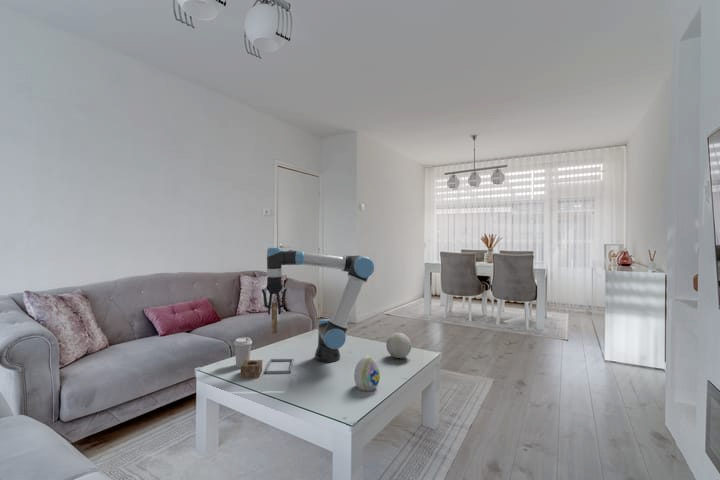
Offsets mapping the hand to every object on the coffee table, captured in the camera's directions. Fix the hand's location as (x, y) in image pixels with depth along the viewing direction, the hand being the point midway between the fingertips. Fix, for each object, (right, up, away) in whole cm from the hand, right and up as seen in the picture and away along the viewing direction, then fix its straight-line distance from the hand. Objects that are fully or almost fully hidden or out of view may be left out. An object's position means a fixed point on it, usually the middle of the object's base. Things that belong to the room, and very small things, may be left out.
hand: (274, 320), depth 184 cm
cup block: (-10, -26, -8) cm, 29 cm away
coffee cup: (-18, -27, +3) cm, 32 cm away
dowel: (0, -7, 0) cm, 7 cm away
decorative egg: (+49, -28, -19) cm, 59 cm away
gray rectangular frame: (+2, -27, +3) cm, 27 cm away
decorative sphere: (+69, -29, +26) cm, 79 cm away
